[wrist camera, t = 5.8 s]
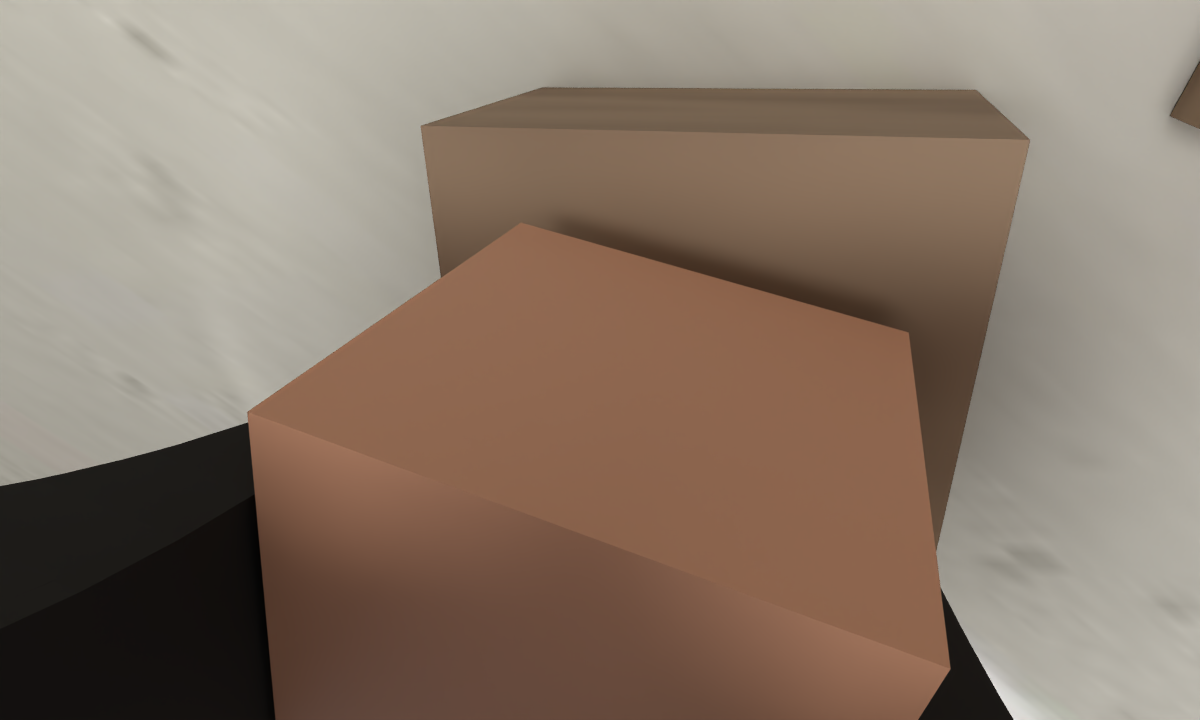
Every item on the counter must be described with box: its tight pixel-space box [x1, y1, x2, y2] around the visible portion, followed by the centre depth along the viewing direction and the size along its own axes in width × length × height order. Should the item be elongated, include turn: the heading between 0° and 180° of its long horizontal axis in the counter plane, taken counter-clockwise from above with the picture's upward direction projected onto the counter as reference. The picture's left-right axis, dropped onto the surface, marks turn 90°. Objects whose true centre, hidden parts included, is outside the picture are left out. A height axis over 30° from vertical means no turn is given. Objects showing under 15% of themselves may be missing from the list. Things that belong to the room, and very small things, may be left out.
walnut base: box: [421, 88, 1030, 550], centre depth 13 cm, size 8×8×5 cm
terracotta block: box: [247, 223, 950, 720], centre depth 8 cm, size 5×5×5 cm
